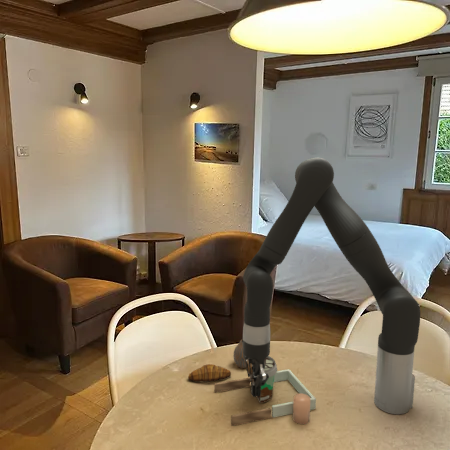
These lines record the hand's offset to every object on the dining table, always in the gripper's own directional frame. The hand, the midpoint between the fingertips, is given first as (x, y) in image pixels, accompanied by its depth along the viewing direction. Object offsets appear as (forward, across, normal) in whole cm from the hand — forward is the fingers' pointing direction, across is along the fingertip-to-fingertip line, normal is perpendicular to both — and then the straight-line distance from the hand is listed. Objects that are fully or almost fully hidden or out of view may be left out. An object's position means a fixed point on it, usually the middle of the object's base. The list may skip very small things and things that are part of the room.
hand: (255, 395), depth 118 cm
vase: (+2, +20, -4) cm, 21 cm away
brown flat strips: (+2, 0, +4) cm, 5 cm away
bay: (+2, 0, -8) cm, 8 cm away
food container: (+2, +3, -4) cm, 6 cm away
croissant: (+2, +16, +9) cm, 18 cm away
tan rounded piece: (+2, -11, -9) cm, 14 cm away
